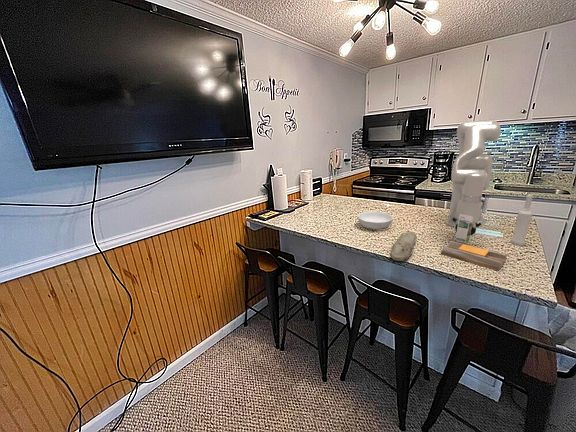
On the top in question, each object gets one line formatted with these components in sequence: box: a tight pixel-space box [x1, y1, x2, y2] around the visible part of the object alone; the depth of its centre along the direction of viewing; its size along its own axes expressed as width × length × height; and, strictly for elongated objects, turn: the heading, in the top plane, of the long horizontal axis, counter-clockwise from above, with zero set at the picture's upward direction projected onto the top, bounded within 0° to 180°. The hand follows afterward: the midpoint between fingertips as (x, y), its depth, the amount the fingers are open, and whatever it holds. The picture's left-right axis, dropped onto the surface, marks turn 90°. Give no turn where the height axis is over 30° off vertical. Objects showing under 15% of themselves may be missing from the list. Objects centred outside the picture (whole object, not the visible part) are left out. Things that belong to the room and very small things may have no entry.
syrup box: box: [454, 214, 473, 244], centre depth 123 cm, size 6×6×14 cm
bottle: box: [510, 194, 534, 246], centre depth 120 cm, size 5×5×25 cm
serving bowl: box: [357, 210, 394, 230], centre depth 156 cm, size 21×21×7 cm
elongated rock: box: [390, 231, 417, 262], centre depth 127 cm, size 35×5×10 cm
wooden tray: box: [440, 240, 508, 272], centre depth 114 cm, size 12×22×4 cm, turn 40°
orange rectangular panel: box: [458, 243, 490, 257], centre depth 113 cm, size 7×10×1 cm
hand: (464, 232), depth 124 cm, fingers closed on syrup box, 5 cm apart
